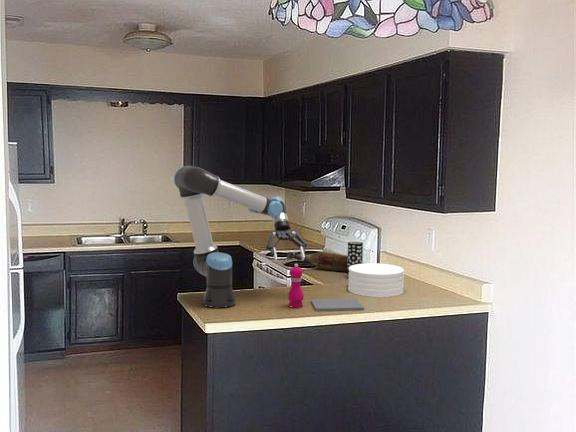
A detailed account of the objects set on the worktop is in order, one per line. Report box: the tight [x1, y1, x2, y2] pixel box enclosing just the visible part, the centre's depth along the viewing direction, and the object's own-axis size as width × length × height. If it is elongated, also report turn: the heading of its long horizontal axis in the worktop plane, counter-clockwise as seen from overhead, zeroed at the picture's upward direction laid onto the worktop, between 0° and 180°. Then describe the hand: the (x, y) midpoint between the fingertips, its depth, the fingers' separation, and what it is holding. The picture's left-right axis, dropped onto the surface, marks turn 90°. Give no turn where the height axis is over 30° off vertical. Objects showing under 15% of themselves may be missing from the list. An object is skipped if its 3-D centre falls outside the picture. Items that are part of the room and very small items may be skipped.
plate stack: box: [347, 262, 405, 298], centre depth 313 cm, size 28×28×12 cm
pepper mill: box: [287, 263, 305, 308], centre depth 280 cm, size 7×7×20 cm
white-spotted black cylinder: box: [346, 241, 364, 280], centre depth 339 cm, size 8×8×20 cm
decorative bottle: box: [285, 251, 348, 273], centre depth 365 cm, size 11×11×45 cm
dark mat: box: [310, 298, 365, 312], centre depth 282 cm, size 22×16×1 cm
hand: (290, 259), depth 289 cm, fingers open, 13 cm apart
